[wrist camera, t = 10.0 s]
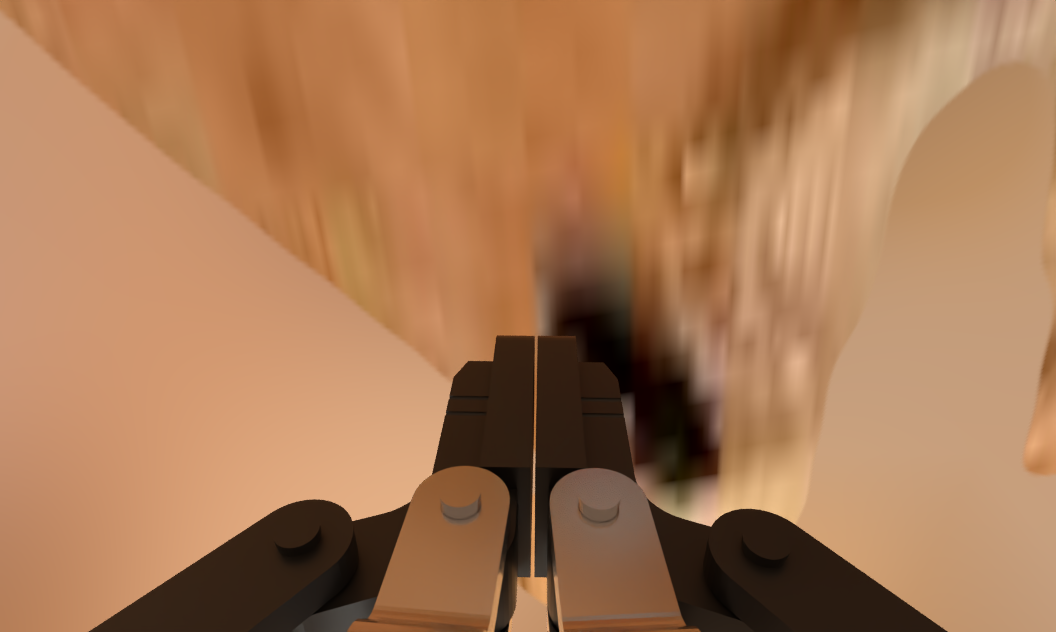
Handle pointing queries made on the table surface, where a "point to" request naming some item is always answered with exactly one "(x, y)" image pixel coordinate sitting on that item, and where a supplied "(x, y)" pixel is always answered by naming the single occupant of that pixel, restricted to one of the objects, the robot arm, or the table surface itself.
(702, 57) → the table surface
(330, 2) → the table surface
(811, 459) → the table surface
